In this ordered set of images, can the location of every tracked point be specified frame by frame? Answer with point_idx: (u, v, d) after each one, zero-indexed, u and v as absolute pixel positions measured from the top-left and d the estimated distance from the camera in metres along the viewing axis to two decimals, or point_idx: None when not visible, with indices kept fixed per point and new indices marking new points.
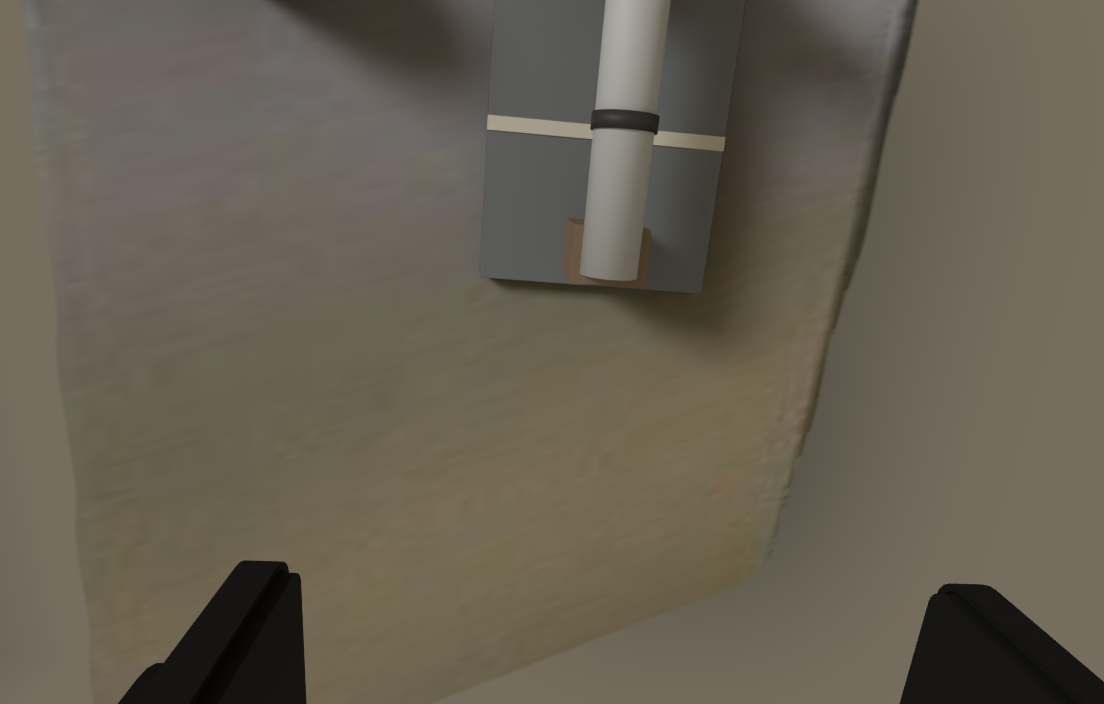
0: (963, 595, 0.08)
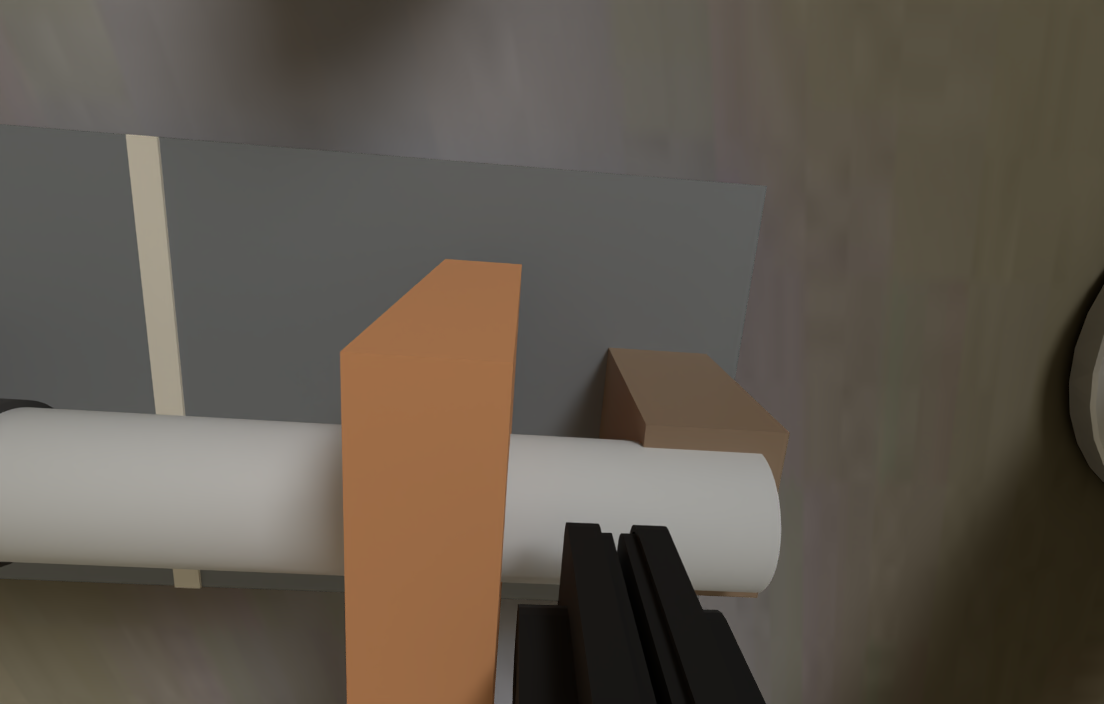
0: (637, 533, 0.09)
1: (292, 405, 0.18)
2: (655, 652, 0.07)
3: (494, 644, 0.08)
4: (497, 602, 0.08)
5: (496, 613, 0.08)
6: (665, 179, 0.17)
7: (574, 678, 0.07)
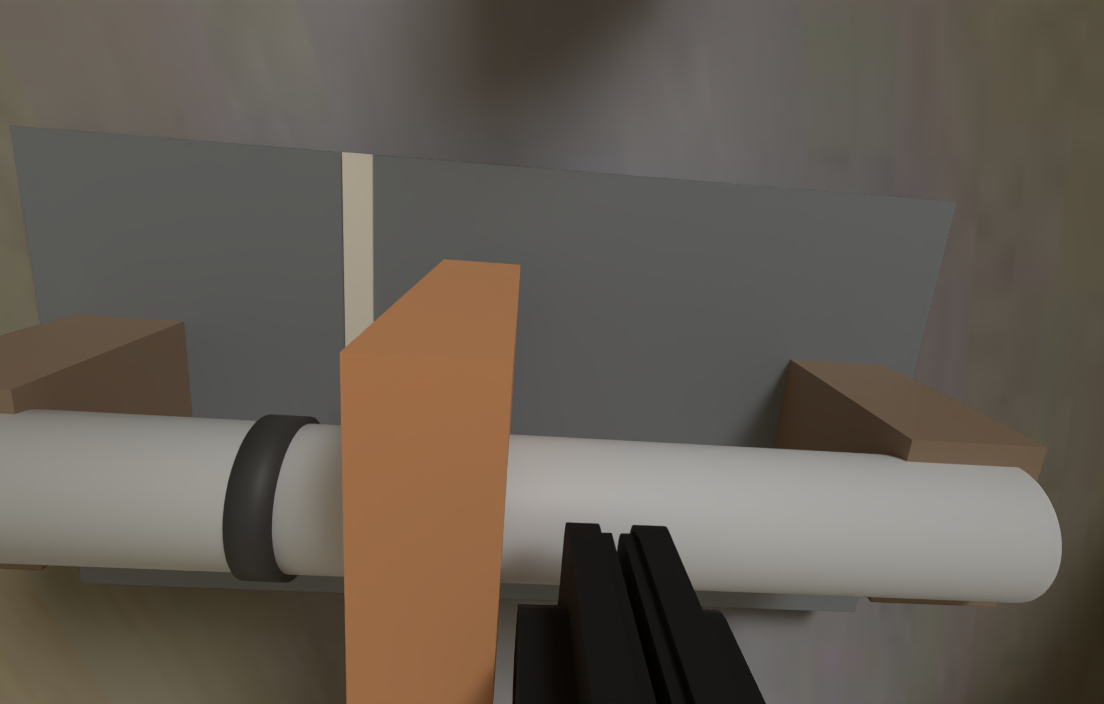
0: (637, 534, 0.09)
1: None
2: (655, 652, 0.07)
3: (494, 645, 0.08)
4: (497, 603, 0.08)
5: (496, 614, 0.08)
6: (859, 195, 0.17)
7: (574, 678, 0.07)
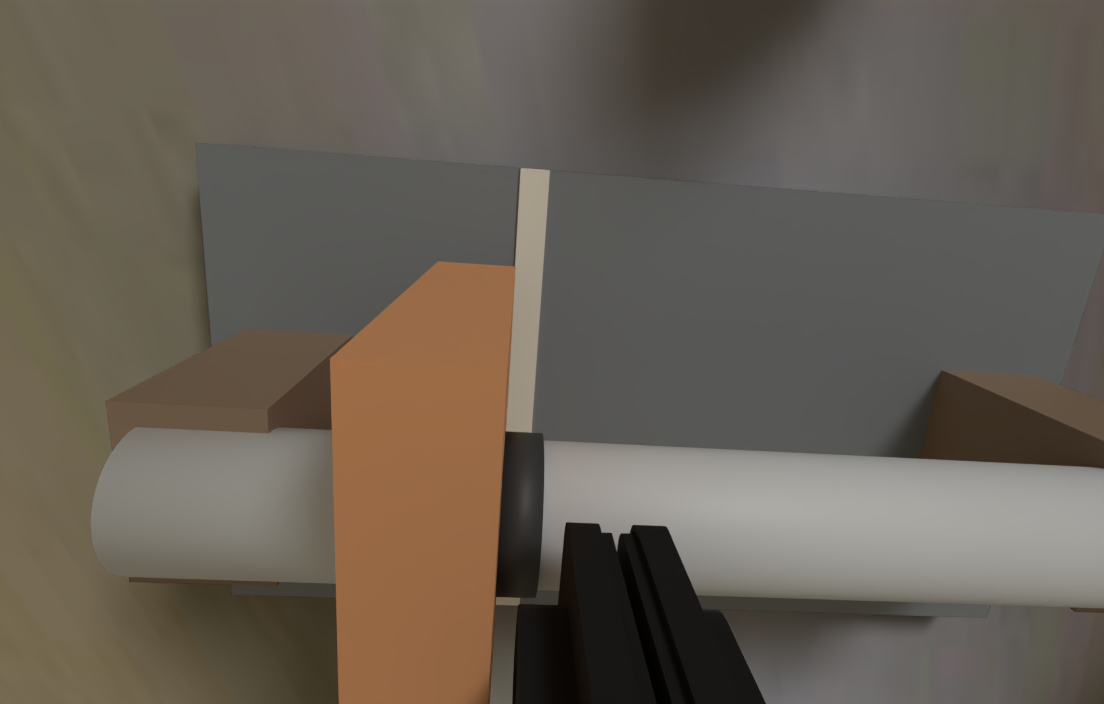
0: (637, 533, 0.09)
1: (634, 427, 0.19)
2: (655, 652, 0.07)
3: (489, 655, 0.08)
4: (492, 612, 0.08)
5: (491, 623, 0.08)
6: (1019, 209, 0.17)
7: (574, 678, 0.07)
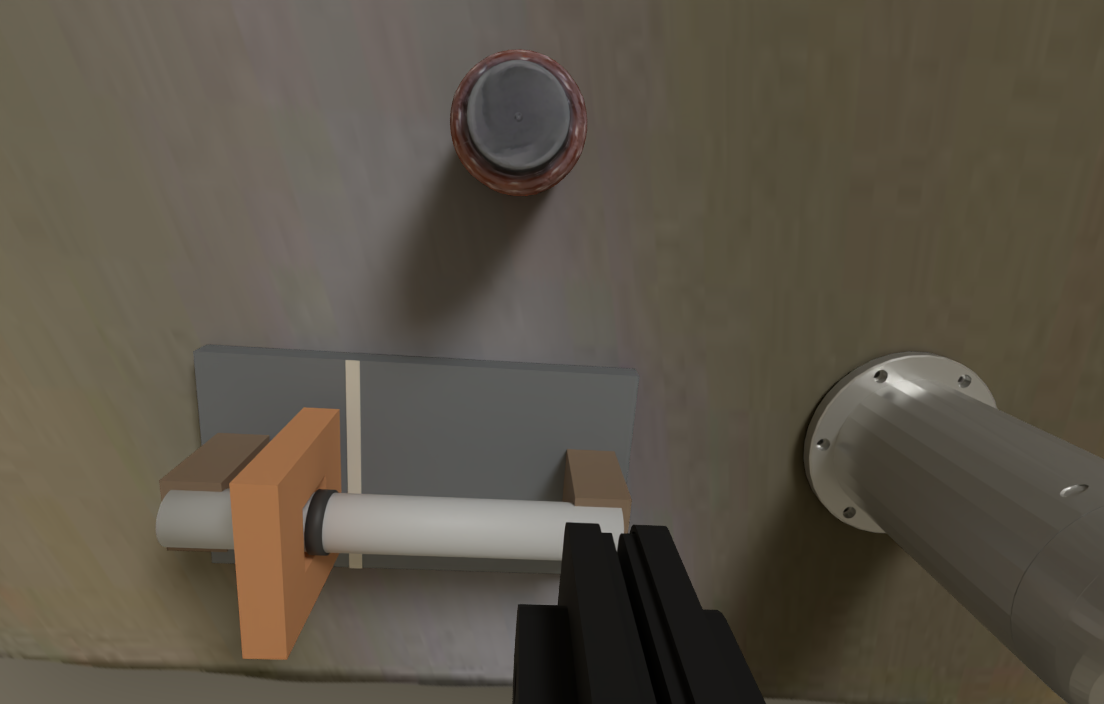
0: (637, 533, 0.09)
1: (413, 477, 0.37)
2: (655, 652, 0.07)
3: (281, 566, 0.26)
4: (281, 553, 0.26)
5: (280, 556, 0.26)
6: (591, 374, 0.36)
7: (574, 678, 0.07)
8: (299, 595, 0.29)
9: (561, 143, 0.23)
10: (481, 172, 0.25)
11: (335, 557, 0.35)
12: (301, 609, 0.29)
